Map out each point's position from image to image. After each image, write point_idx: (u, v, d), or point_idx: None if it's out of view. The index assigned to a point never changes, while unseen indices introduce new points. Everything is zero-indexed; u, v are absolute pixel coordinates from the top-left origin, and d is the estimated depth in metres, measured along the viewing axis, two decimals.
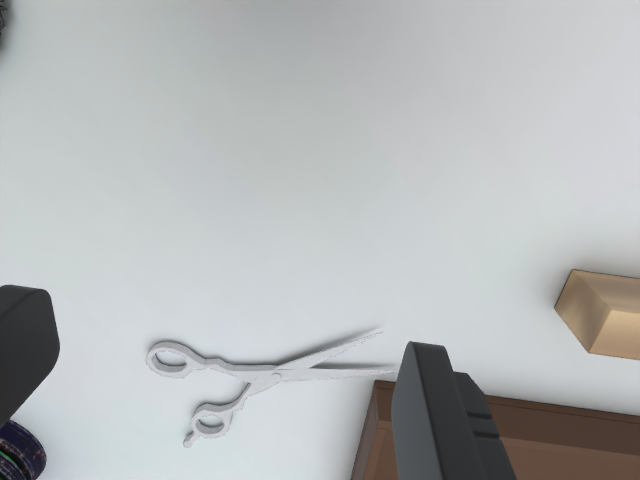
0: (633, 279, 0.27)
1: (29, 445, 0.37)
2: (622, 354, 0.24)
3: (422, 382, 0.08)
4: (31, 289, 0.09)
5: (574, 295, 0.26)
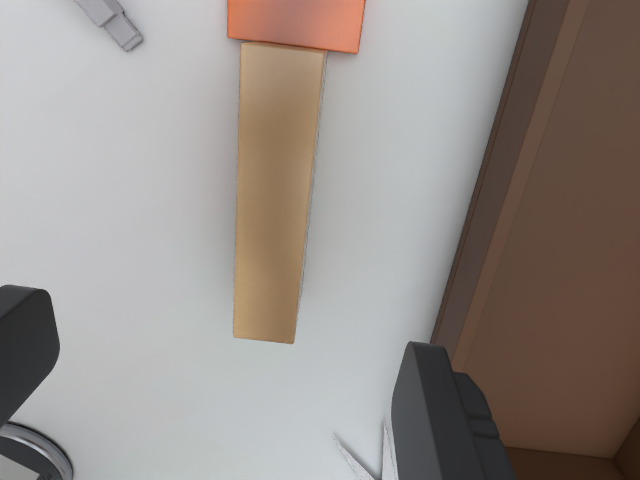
0: None
1: None
2: (291, 314, 0.21)
3: (422, 382, 0.08)
4: (31, 289, 0.09)
5: None
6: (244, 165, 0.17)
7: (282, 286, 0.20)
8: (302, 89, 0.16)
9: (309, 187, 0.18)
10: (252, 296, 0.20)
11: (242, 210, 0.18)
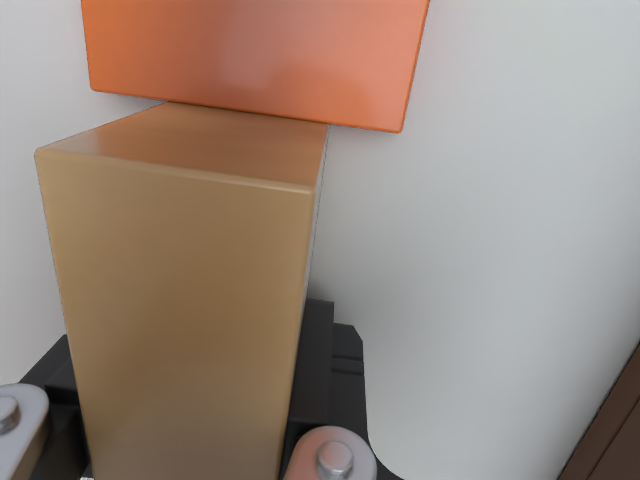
0: None
1: None
2: None
3: None
4: None
5: None
6: (103, 441, 0.07)
7: None
8: (247, 287, 0.05)
9: None
10: None
11: None
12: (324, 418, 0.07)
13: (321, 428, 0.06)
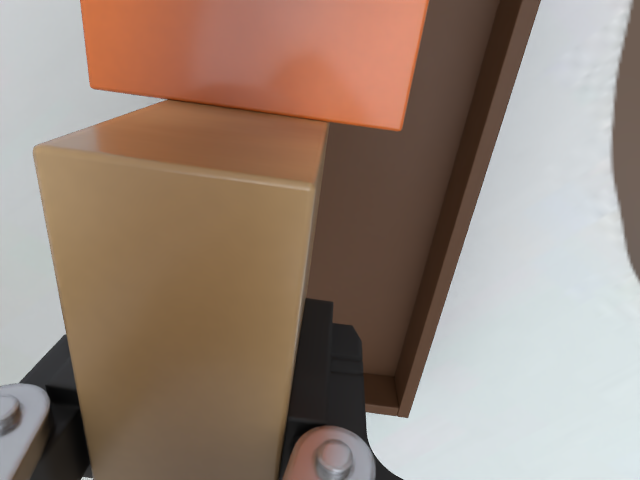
0: None
1: None
2: None
3: None
4: None
5: None
6: (102, 439, 0.07)
7: None
8: (246, 284, 0.05)
9: None
10: None
11: None
12: (323, 418, 0.07)
13: (320, 428, 0.06)
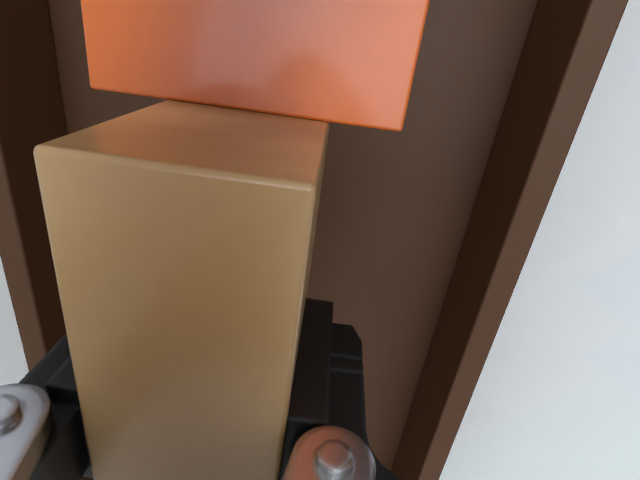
0: None
1: None
2: None
3: None
4: None
5: None
6: (102, 439, 0.07)
7: None
8: (246, 285, 0.05)
9: None
10: None
11: None
12: (323, 418, 0.07)
13: (320, 428, 0.06)
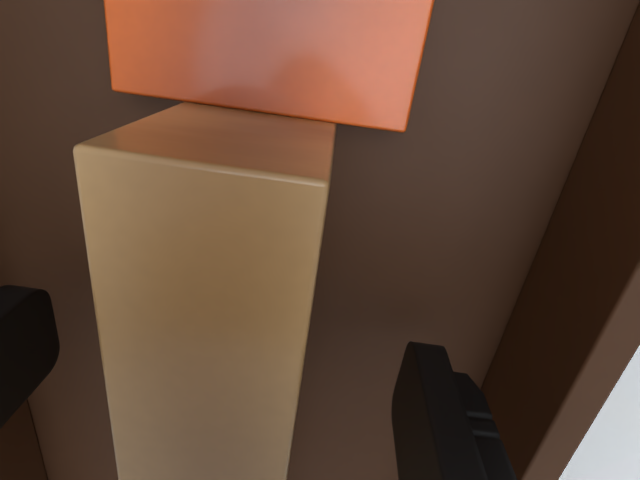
0: None
1: None
2: None
3: (422, 382, 0.08)
4: (31, 289, 0.09)
5: None
6: (126, 419, 0.07)
7: None
8: (264, 273, 0.06)
9: (287, 464, 0.07)
10: None
11: None
12: None
13: None
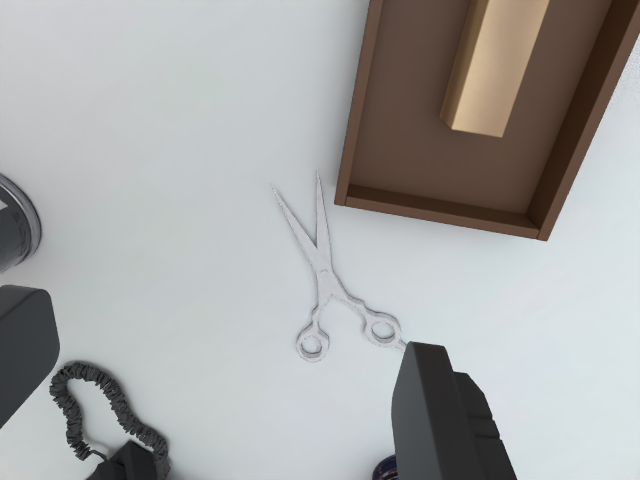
0: (455, 58, 0.28)
1: None
2: (508, 105, 0.25)
3: (422, 382, 0.08)
4: (31, 289, 0.09)
5: None
6: None
7: (509, 75, 0.24)
8: None
9: None
10: (480, 86, 0.24)
11: None
12: None
13: None
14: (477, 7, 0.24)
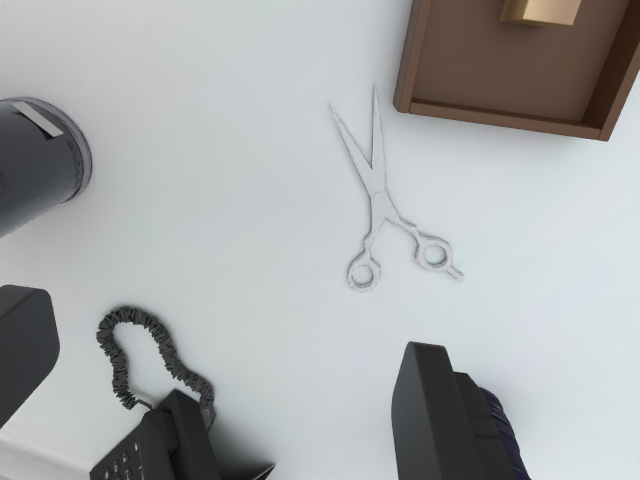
0: None
1: None
2: None
3: (422, 382, 0.08)
4: (31, 289, 0.09)
5: (521, 23, 0.29)
6: None
7: None
8: None
9: None
10: None
11: None
12: None
13: None
14: None
